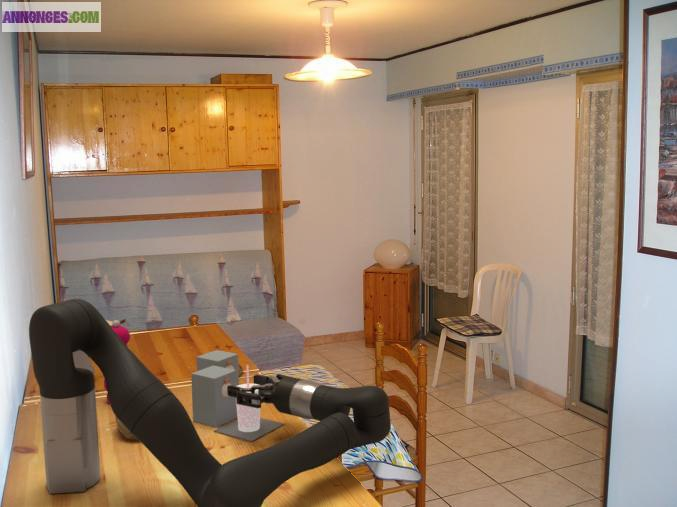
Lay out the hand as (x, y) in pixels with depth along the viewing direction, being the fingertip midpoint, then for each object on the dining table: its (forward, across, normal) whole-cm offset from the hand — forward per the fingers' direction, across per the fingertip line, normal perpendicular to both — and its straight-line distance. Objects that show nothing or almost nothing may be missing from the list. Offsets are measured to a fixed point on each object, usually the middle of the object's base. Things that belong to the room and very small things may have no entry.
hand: (241, 384), depth 150 cm
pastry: (+27, +25, -10) cm, 38 cm away
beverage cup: (-2, -1, -9) cm, 10 cm away
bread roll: (+18, -13, -10) cm, 24 cm away
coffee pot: (+56, +3, -10) cm, 57 cm away
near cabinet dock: (+2, 0, -9) cm, 10 cm away
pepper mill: (+36, -3, -10) cm, 38 cm away
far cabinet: (+16, +10, -10) cm, 21 cm away
